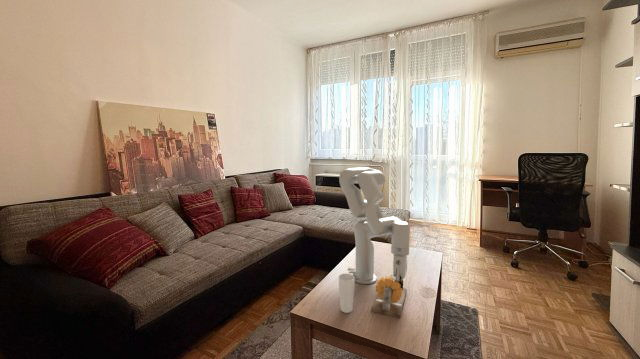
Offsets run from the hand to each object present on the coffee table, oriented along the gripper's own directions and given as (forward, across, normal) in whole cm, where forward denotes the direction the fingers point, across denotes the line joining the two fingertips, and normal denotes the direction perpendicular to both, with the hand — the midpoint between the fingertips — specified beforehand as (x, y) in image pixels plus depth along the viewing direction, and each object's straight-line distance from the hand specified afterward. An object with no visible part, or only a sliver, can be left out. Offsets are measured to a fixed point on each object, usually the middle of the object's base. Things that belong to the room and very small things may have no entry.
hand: (399, 288), depth 123 cm
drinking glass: (+7, -14, +20) cm, 25 cm away
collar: (+5, -4, +4) cm, 7 cm away
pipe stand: (+7, 0, +4) cm, 8 cm away
